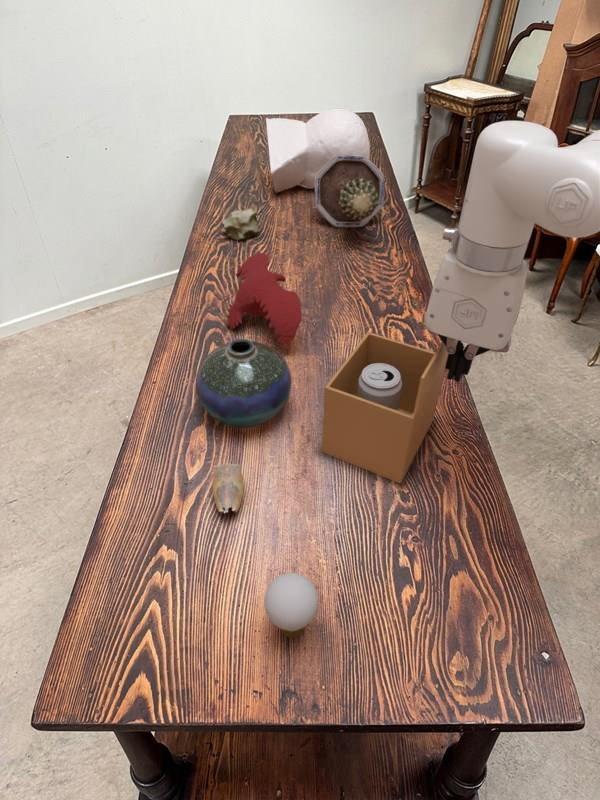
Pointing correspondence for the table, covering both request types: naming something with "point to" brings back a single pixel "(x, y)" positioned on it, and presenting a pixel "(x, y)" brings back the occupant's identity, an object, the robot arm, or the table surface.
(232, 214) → the greenish rock
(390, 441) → the carton
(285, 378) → the vase
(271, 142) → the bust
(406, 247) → the table surface
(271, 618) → the light bulb
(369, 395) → the beverage can
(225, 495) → the shell
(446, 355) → the flap
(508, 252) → the robot arm
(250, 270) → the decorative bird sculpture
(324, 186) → the potted plant
